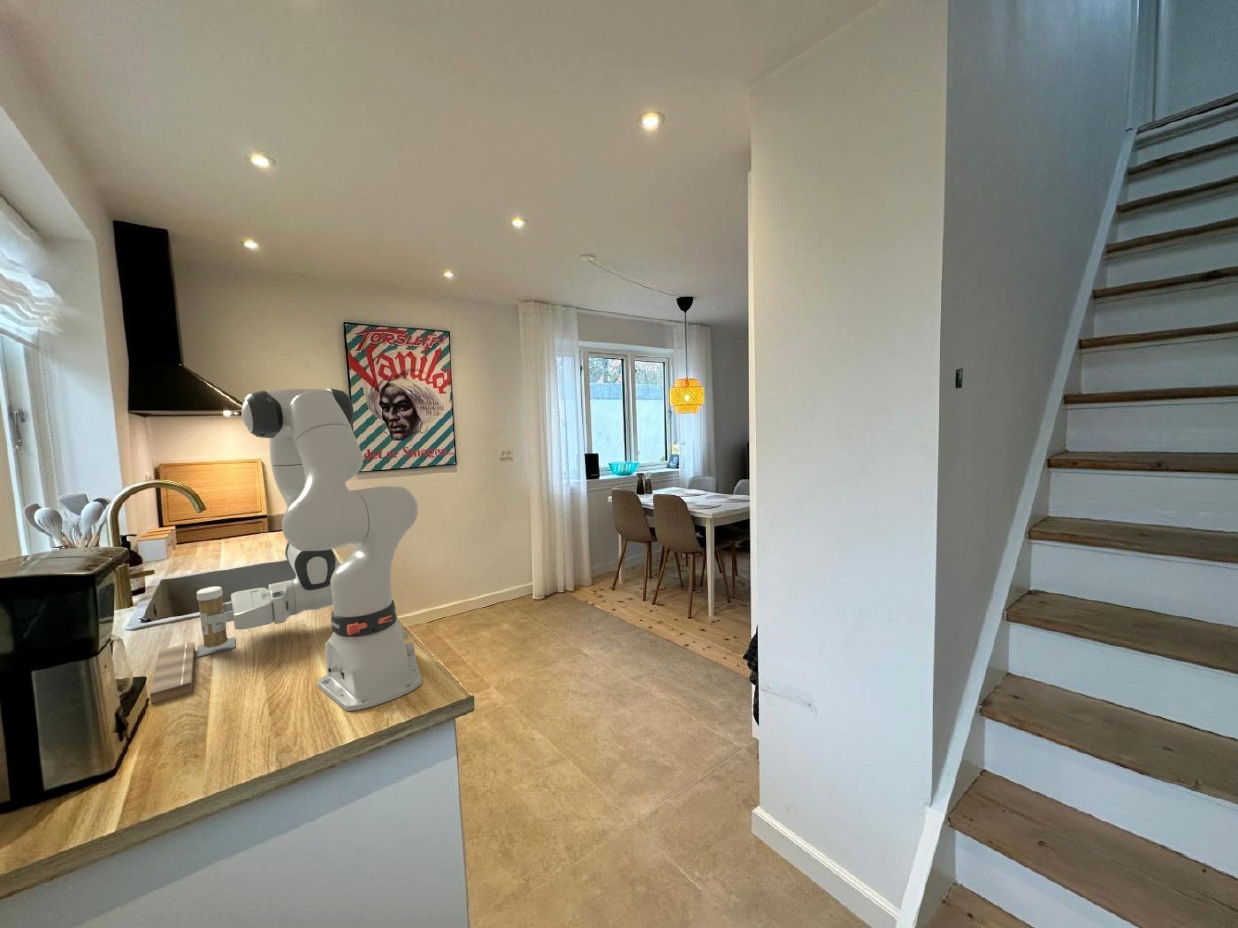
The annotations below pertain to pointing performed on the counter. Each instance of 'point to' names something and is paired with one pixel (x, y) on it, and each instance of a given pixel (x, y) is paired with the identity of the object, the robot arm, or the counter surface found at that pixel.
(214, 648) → the end pad
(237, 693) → the counter surface
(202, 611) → the sprinkles bottle
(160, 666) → the board
